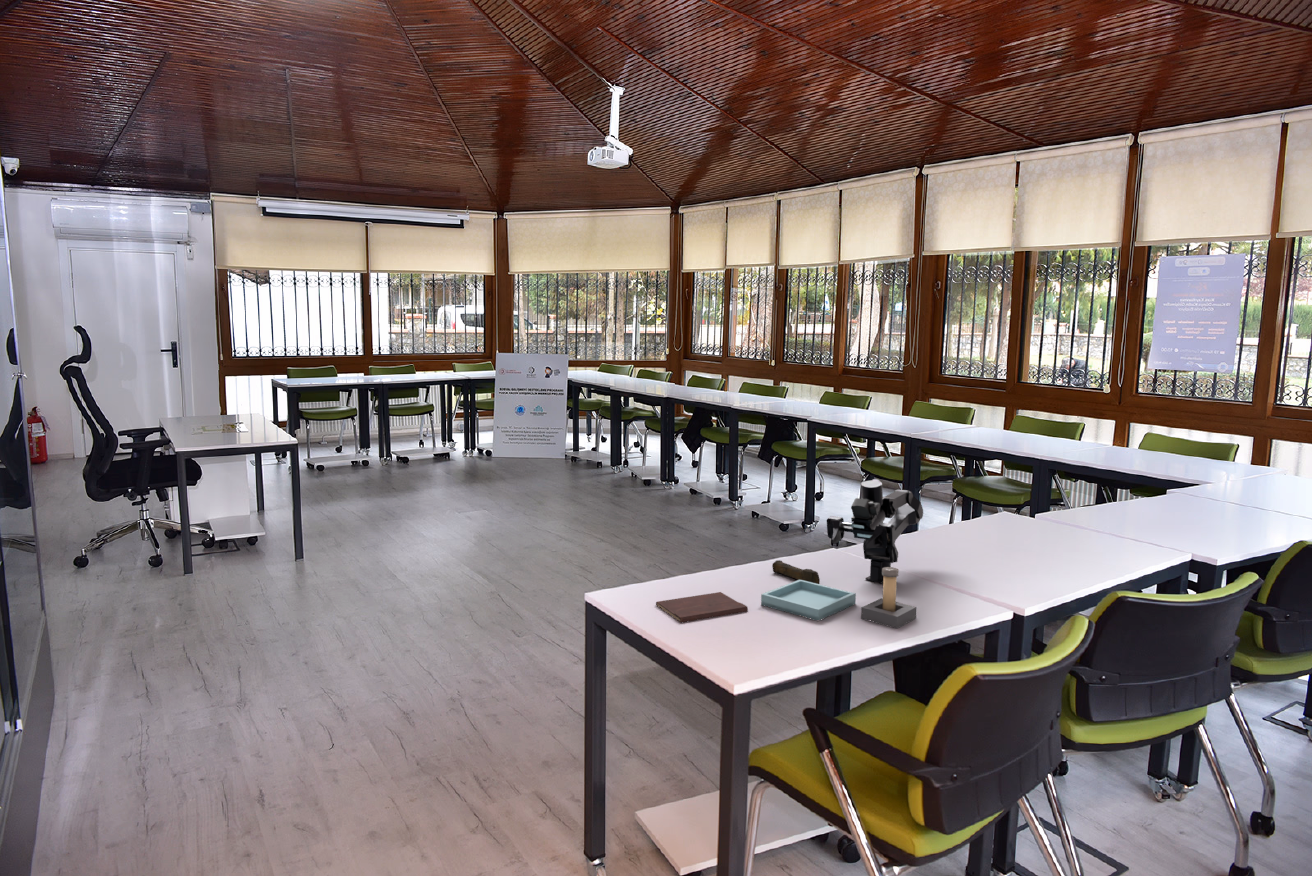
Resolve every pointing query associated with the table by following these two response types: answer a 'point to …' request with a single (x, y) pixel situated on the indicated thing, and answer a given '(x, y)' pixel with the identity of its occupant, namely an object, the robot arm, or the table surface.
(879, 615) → the socket block
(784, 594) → the parts tray
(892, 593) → the fuse
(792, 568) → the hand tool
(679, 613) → the notebook
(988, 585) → the table surface
